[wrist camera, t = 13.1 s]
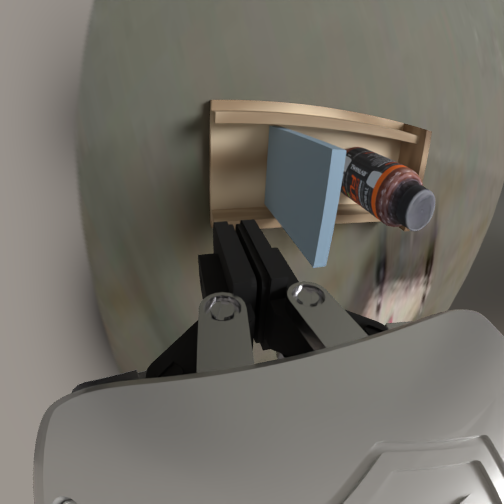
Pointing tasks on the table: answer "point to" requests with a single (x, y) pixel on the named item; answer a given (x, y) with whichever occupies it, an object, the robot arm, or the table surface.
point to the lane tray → (303, 121)
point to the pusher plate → (304, 189)
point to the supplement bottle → (386, 189)
